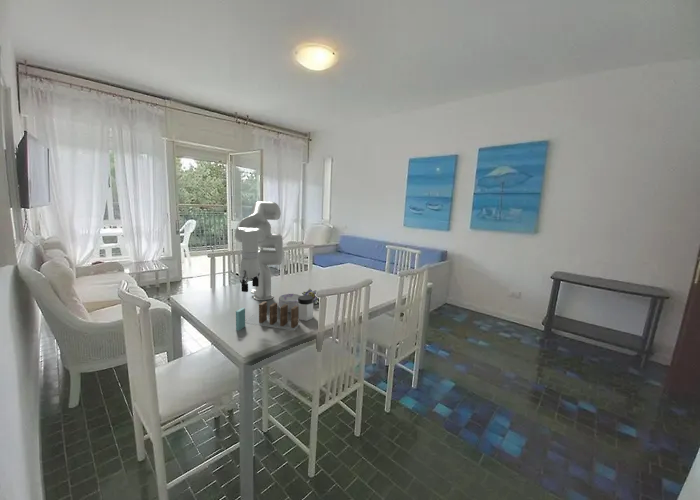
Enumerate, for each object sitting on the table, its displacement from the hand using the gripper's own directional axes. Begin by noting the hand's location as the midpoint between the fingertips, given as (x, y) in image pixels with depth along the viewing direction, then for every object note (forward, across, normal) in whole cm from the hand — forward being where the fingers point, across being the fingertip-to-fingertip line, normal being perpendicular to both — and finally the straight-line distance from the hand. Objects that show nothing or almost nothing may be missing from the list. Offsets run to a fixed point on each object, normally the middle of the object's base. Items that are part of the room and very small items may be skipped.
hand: (250, 288), depth 143 cm
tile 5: (+20, -7, +21) cm, 29 cm away
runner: (+20, -7, +8) cm, 23 cm away
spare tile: (+20, +4, -3) cm, 21 cm away
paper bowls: (+20, -28, +10) cm, 36 cm away
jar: (+20, -19, +22) cm, 35 cm away
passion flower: (+20, -41, +18) cm, 49 cm away
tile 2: (+19, -7, +3) cm, 21 cm away
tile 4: (+20, -7, +15) cm, 26 cm away
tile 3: (+20, -7, +9) cm, 23 cm away
